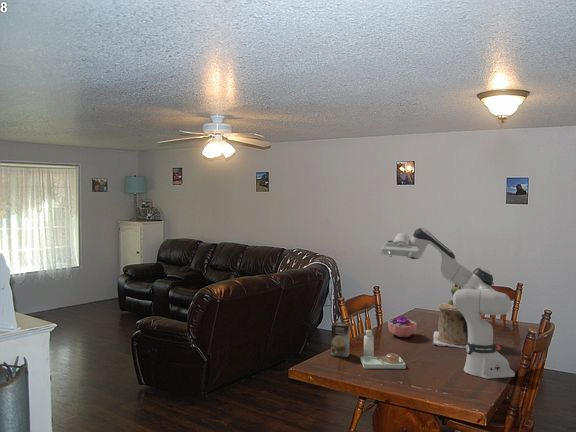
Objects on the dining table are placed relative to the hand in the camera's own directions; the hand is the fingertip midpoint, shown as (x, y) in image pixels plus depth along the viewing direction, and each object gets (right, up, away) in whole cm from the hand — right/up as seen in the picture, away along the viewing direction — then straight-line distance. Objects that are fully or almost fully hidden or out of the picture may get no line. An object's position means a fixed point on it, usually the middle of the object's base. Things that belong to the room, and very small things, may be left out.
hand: (399, 256), depth 274 cm
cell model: (+8, -50, +29) cm, 58 cm away
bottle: (-19, -51, -13) cm, 56 cm away
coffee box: (-33, -51, -8) cm, 61 cm away
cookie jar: (+36, -51, +17) cm, 65 cm away
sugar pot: (-8, -52, -23) cm, 57 cm away
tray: (-13, -52, -23) cm, 58 cm away
